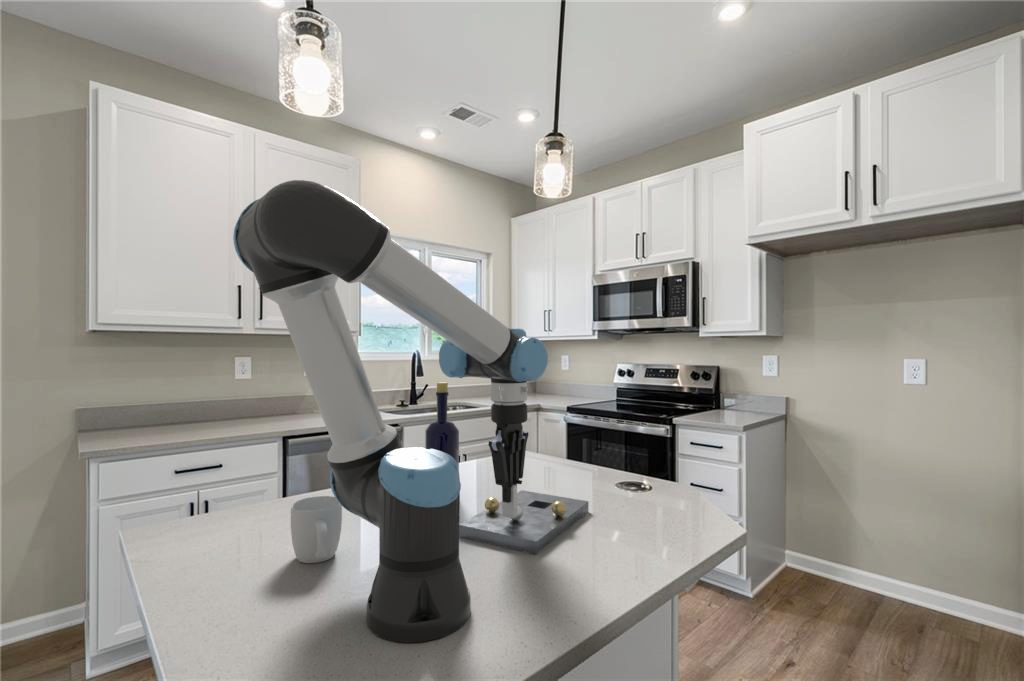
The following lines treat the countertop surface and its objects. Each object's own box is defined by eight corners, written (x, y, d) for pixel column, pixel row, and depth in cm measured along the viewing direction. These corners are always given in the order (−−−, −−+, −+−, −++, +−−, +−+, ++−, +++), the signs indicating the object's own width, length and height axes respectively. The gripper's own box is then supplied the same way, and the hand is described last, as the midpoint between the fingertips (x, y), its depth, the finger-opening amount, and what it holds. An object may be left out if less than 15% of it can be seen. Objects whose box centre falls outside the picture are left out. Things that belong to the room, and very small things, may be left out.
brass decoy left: (494, 515, 109) (494, 500, 109) (482, 513, 110) (482, 498, 110) (501, 511, 112) (501, 496, 112) (489, 508, 113) (489, 494, 113)
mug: (288, 552, 95) (288, 500, 95) (337, 543, 99) (337, 493, 100) (295, 580, 84) (295, 520, 84) (349, 568, 88) (350, 512, 88)
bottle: (462, 495, 132) (463, 381, 132) (455, 506, 123) (456, 384, 123) (428, 493, 133) (429, 381, 133) (418, 504, 124) (419, 383, 124)
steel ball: (517, 513, 103) (523, 503, 106) (503, 510, 105) (510, 500, 107) (519, 525, 104) (526, 515, 107) (506, 522, 106) (513, 512, 108)
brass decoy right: (562, 519, 106) (562, 504, 106) (549, 517, 108) (549, 502, 108) (568, 515, 109) (568, 500, 109) (555, 512, 111) (555, 498, 111)
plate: (536, 554, 94) (536, 541, 94) (458, 536, 103) (458, 524, 103) (588, 511, 119) (588, 501, 119) (521, 500, 128) (521, 490, 128)
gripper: (509, 407, 96) (510, 530, 96) (539, 400, 107) (539, 509, 107) (476, 405, 100) (477, 523, 100) (509, 398, 111) (509, 504, 111)
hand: (509, 516), depth 103 cm, fingers closed
